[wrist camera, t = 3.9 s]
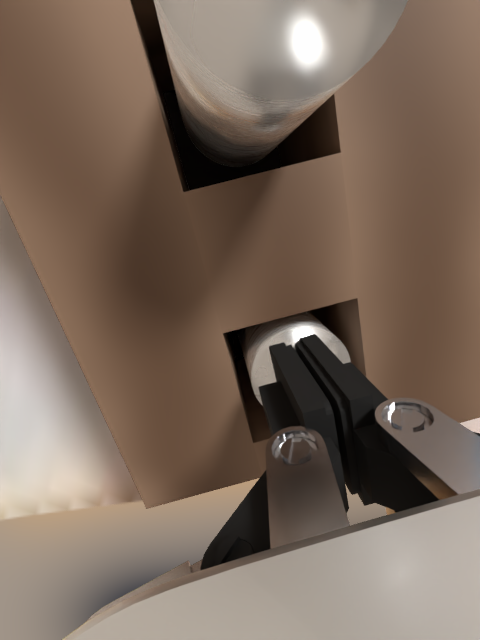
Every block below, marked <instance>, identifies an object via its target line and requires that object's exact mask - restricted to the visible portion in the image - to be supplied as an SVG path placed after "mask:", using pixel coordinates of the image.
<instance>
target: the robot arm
mask: <svg viewBox="0 0 480 640" xmlns="http://www.w3.org/2000/svg"><path fill="white" fill-rule="evenodd" d="M295 349H296V351H295V350H294V348H293V347H292V345H287V346H286V344H285V343H284V342H282V343H279V344H275V345H271V346H269V351H270V355H271V360H272V364H273V368H274V373H275V377H276V382H274V383H270V384H266V385H263V386H259V387H258V388H259V392H260V396H261V400H262V404H263V408H264V412H265V416H266V419H267V423H268V427H269V430H270V433H271V438H270V439H269V441H268V442H267V444H266V450H265V454H266V470H265V472H264V473H263V474H262V476H261V477H260V479H259V480H258V481H257V482H256V484H255V485H254V487H253V488H252V489H251V490H250V492H249V493H248V494H247V496H246V497H245V499H244V500H243V501H242V502H241V504H240V505H239V506H238V508H237V509H236V510H235V512H234V513H233V514H232V516H231V517H230V518H229V520H228V521H227V522H226V524H225V525H224V526H223V528H222V529H221V530H220V532H219V533H218V535H217V536H216V537H215V538H214V540H213V541H212V542H211V544H210V546H209V547H208V549H207V550H206V552H205V554H204V557H203V559H202V560H200V561H199V562H197V563H195V564H193V565H190V563H189V561H187V562H185V563H183V564H181V565H179V566H178V567H176V568H174V569H172V570H170V571H168V572H166V573H165V574H163V575H161V576H159V577H157V578H155V579H154V580H152V581H150V582H148V583H146V584H144V585H142V586H141V587H139V588H137V589H135V590H133V591H131V592H130V593H128V594H126V595H124V596H122V597H120V598H119V599H117V600H115V601H113V602H111V603H109V604H108V605H106V606H104V607H102V608H101V609H100V610H98V611H97V612H96V613H94V614H93V615H91V616H90V618H89V619H88V620H87V621H86V622H85V623H84V624H83V625H81V626H80V627H79V628H77V629H76V630H74V631H73V632H72V633H70V634H69V635H68V636H66V637H65V638H63V639H62V640H480V434H479V433H475V432H472V431H470V430H469V429H467V428H466V427H464V426H463V425H461V424H459V423H458V422H456V421H455V420H453V419H452V418H450V417H449V416H447V415H446V414H444V413H443V412H441V411H439V410H438V409H436V408H435V407H433V406H432V405H430V404H428V403H426V402H424V401H421V400H417V399H413V398H394V399H390V400H388V399H387V398H386V397H385V396H384V395H383V394H382V393H381V392H380V391H379V390H378V389H377V388H376V387H375V386H374V385H373V384H372V383H371V382H370V381H369V380H368V379H367V378H366V377H365V376H364V375H363V374H362V373H361V372H360V371H359V370H358V369H357V367H356V366H355V365H354V364H352V363H351V362H348V363H344V364H343V363H342V362H341V361H340V360H339V359H338V358H337V357H336V355H335V354H334V353H333V352H332V351H331V350H330V349H329V348H328V347H327V346H326V345H325V344H324V343H323V341H322V340H321V339H320V338H319V337H318V336H317V335H316V334H312V335H309V336H305V337H301V338H300V339H299V342H298V343H295ZM345 484H346V486H347V488H348V489H349V491H350V492H351V494H352V495H353V494H356V493H358V495H359V497H360V499H361V500H362V502H363V504H364V505H369V504H372V503H377V504H380V505H382V506H385V509H386V513H387V515H386V516H383V517H379V518H376V519H372V520H369V521H366V522H362V523H358V524H355V525H352V526H350V524H349V521H348V518H347V511H348V509H349V506H348V500H347V493H346V487H345Z"/></svg>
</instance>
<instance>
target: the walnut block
mask: <svg viewBox="0 0 480 640" xmlns="http://www.w3.org/2000/svg"><path fill="white" fill-rule="evenodd" d="M171 90H175V87H174V83H173V79H172V75H171V70H170V66H169V62H168V58H167V54H166V49H165V45H164V41H163V37H162V33H161V29H160V24H159V20H158V16H157V12H156V8H155V4H154V0H0V195H1V198H2V200H3V202H4V204H5V206H6V208H7V210H8V213H9V215H10V217H11V219H12V221H13V223H14V225H15V228H16V230H17V232H18V234H19V236H20V238H21V240H22V243H23V245H24V247H25V249H26V251H27V253H28V255H29V258H30V260H31V262H32V264H33V266H34V268H35V271H36V273H37V275H38V277H39V279H40V281H41V283H42V286H43V288H44V290H45V292H46V294H47V296H48V298H49V301H50V303H51V305H52V307H53V309H54V311H55V313H56V316H57V318H58V320H59V322H60V324H61V326H62V328H63V331H64V333H65V335H66V337H67V339H68V341H69V343H70V346H71V348H72V350H73V352H74V354H75V356H76V358H77V361H78V363H79V365H80V367H81V369H82V371H83V373H84V376H85V378H86V380H87V382H88V384H89V386H90V389H91V391H92V393H93V395H94V397H95V399H96V401H97V404H98V406H99V408H100V410H101V412H102V414H103V416H104V419H105V421H106V423H107V425H108V427H109V429H110V431H111V434H112V436H113V438H114V440H115V442H116V444H117V446H118V449H119V451H120V453H121V455H122V457H123V459H124V461H125V464H126V466H127V468H128V470H129V472H130V474H131V476H132V479H133V481H134V483H135V485H136V487H137V489H138V491H139V494H140V496H141V498H142V500H143V502H144V504H145V506H146V508H151V507H154V506H158V505H162V504H166V503H169V502H173V501H177V500H180V499H184V498H188V497H191V496H195V495H198V494H202V493H205V492H209V491H213V490H216V489H220V488H224V487H228V486H231V485H235V484H238V483H242V482H245V481H250V480H253V479H257V478H260V477H261V476H262V474H263V473H264V472H265V470H266V454H265V450H266V444H267V442H268V441H269V439H270V438H271V433H270V430H269V427H268V423H267V419H266V416H265V412H264V408H263V406H262V405H261V403H260V402H259V401H258V399H257V398H256V396H255V394H254V391H253V388H252V384H251V380H250V377H249V373H248V369H247V366H246V362H245V359H241V360H237V361H236V360H235V356H234V352H233V349H232V345H231V341H230V338H229V334H228V332H230V331H234V330H237V329H241V328H245V327H249V326H253V325H256V324H260V323H264V322H268V321H272V320H275V319H279V318H283V317H287V316H291V315H294V314H298V313H302V312H306V311H309V312H310V313H312V314H313V315H314V316H315V317H316V318H317V319H318V320H319V321H320V322H321V323H322V324H323V325H324V326H325V327H326V328H327V329H329V330H330V331H331V332H332V333H333V334H334V335H335V336H336V337H337V338H338V339H339V340H340V341H341V342H342V343H343V344H344V346H345V347H346V349H347V351H348V354H349V356H350V361H351V363H352V364H354V365H355V366H356V367H357V369H358V370H359V371H360V372H361V373H362V374H363V375H364V376H365V377H366V378H367V379H368V380H369V381H370V382H371V383H372V384H373V385H374V386H375V387H376V388H377V389H378V390H379V391H380V392H381V393H382V394H383V395H384V396H385V397H386V398H387V399H388V400H390V399H394V398H413V399H417V400H421V401H424V402H426V403H428V404H430V405H432V406H433V407H435V408H436V409H438V410H439V411H441V412H443V413H444V414H446V415H447V416H449V417H450V418H452V419H453V420H455V421H456V422H458V423H461V422H465V421H468V420H472V419H476V418H479V417H480V0H408V1H407V4H406V6H405V8H404V11H403V13H402V15H401V16H400V18H399V20H398V22H397V24H396V26H395V27H394V29H393V31H392V32H391V34H390V35H389V37H388V38H387V40H386V41H385V43H384V44H383V45H382V47H381V48H380V49H379V50H378V51H377V53H376V54H375V55H374V56H373V57H372V58H371V59H370V61H369V62H367V63H366V64H365V65H364V66H363V67H362V68H361V69H360V70H359V71H358V72H357V73H356V74H354V75H353V76H352V77H351V78H350V79H349V80H348V81H347V82H346V83H345V84H344V85H343V86H342V87H340V88H339V89H338V90H337V91H336V92H335V93H334V94H333V95H332V96H331V97H330V98H329V99H327V100H326V101H325V102H324V103H323V104H322V105H321V106H320V107H319V108H318V109H317V110H316V111H314V112H313V113H312V114H311V115H310V116H309V117H308V118H307V119H306V120H305V121H304V122H303V123H301V124H300V125H299V126H298V127H297V128H296V129H295V130H294V131H293V132H292V133H291V134H290V135H288V136H287V137H286V138H285V139H284V140H283V141H282V142H281V143H280V144H279V145H278V146H277V147H278V152H279V158H280V164H281V168H278V169H274V170H270V171H266V172H262V173H258V174H254V175H250V176H246V177H242V178H238V179H234V180H230V181H226V182H222V183H218V184H214V185H210V186H206V187H202V188H198V189H194V190H189V187H188V183H187V179H186V176H185V172H184V168H183V165H182V161H181V157H180V154H179V150H178V146H177V143H176V139H175V135H174V131H173V128H172V124H171V120H170V117H169V113H168V109H167V106H166V102H165V98H164V95H163V92H167V91H171Z"/></svg>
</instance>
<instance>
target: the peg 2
mask: <svg viewBox="0 0 480 640" xmlns="http://www.w3.org/2000/svg"><path fill="white" fill-rule="evenodd" d="M237 333H238V337H239V340H240V344H241V348H242V351H243V355H244V359H245V362H246V366H247V369H248V373H249V377H250V380H251V384H252V388H253V391H254V394H255V396H256V398H257V399H258V401H259V402H260V403H261V405H262V406H263V404H262V400H261V396H260V392H259V388H258V387H259V386H263V385H266V384H270V383H274V382H276V377H275V373H274V368H273V364H272V360H271V355H270V351H269V346H271V345H275V344H279V343H282V342H284V343H285V344H286V346H287V345H292V347H293V348H294V350H295V351H296V349H295V343H298V342H299V339H300V338H301V337H305V336H309V335H312V334H316V335H317V336H318V337H319V338H320V339H321V340H322V341H323V343H324V344H325V345H326V346H327V347H328V348H329V349H330V350H331V351H332V352H333V353H334V354H335V355H336V357H337V358H338V359H339V360H340V361H341V362H342V363H343V364H344V363H348V362H351V361H350V356H349V354H348V351H347V349H346V347H345V346H344V344H343V343H342V342H341V341H340V340H339V339H338V338H337V337H336V336H335V335H334V334H333V333H332V332H331V331H330V330H329V329H327V328H326V327H325V326H324V325H323V324H322V323H321V322H320V321H319V320H318V319H317V318H316V317H315V316H314V315H313V314H312V313H310V312H309V311H306V312H302V313H298V314H294V315H291V316H287V317H283V318H279V319H275V320H272V321H268V322H264V323H260V324H256V325H253V326H249V327H245V328H241V329H237Z"/></svg>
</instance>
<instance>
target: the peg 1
mask: <svg viewBox="0 0 480 640" xmlns="http://www.w3.org/2000/svg"><path fill="white" fill-rule="evenodd" d="M407 1H408V0H154V4H155V8H156V12H157V16H158V20H159V24H160V29H161V33H162V37H163V41H164V45H165V49H166V54H167V58H168V62H169V66H170V70H171V75H172V79H173V83H174V87H175V91H176V95H177V100H178V104H179V108H180V112H181V116H182V120H183V124H184V127H185V129H186V131H187V134H188V136H189V137H190V139H191V141H192V142H193V144H194V145H195V146H196V148H197V149H198V150H199V151H200V152H201V153H202V154H203V155H205V156H206V157H207V158H209V159H210V160H212V161H214V162H216V163H218V164H221V165H224V166H229V167H243V166H248V165H251V164H254V163H256V162H258V161H260V160H261V159H263V158H264V157H266V156H267V155H268V154H269V153H270V152H271V151H272V150H273V149H274V148H275V147H277V146H278V145H279V144H280V143H281V142H282V141H283V140H284V139H285V138H286V137H287V136H288V135H290V134H291V133H292V132H293V131H294V130H295V129H296V128H297V127H298V126H299V125H300V124H301V123H303V122H304V121H305V120H306V119H307V118H308V117H309V116H310V115H311V114H312V113H313V112H314V111H316V110H317V109H318V108H319V107H320V106H321V105H322V104H323V103H324V102H325V101H326V100H327V99H329V98H330V97H331V96H332V95H333V94H334V93H335V92H336V91H337V90H338V89H339V88H340V87H342V86H343V85H344V84H345V83H346V82H347V81H348V80H349V79H350V78H351V77H352V76H353V75H354V74H356V73H357V72H358V71H359V70H360V69H361V68H362V67H363V66H364V65H365V64H366V63H367V62H369V61H370V59H371V58H372V57H373V56H374V55H375V54H376V53H377V51H378V50H379V49H380V48H381V47H382V45H383V44H384V43H385V41H386V40H387V38H388V37H389V35H390V34H391V32H392V31H393V29H394V27H395V26H396V24H397V22H398V20H399V18H400V16H401V15H402V13H403V11H404V8H405V6H406V4H407Z"/></svg>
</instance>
